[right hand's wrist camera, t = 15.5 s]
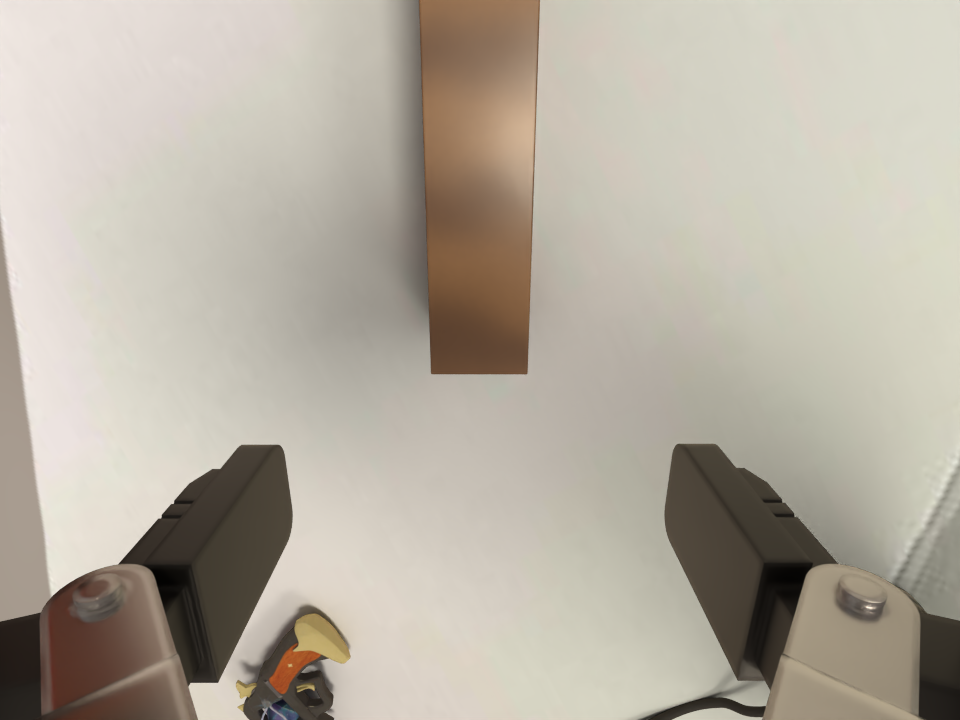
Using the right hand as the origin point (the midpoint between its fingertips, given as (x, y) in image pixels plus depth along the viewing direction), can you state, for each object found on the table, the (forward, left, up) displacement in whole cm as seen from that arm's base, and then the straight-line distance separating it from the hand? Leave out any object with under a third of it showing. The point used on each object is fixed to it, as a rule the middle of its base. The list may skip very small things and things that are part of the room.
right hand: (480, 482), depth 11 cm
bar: (+6, +6, -24) cm, 25 cm away
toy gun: (-35, -16, -24) cm, 45 cm away
